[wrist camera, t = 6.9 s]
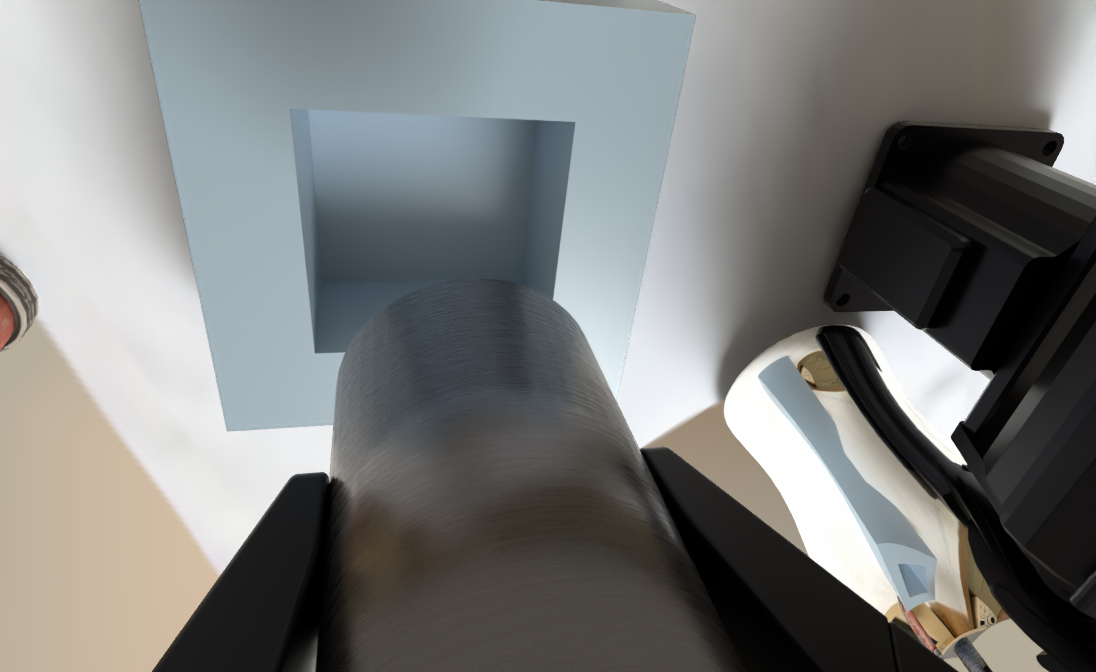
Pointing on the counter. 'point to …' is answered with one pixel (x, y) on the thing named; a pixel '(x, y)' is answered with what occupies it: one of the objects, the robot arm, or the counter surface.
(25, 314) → the red decorated tea tin
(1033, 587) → the shiny silver cylinder
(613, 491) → the cell
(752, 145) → the counter surface
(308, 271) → the box
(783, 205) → the counter surface
